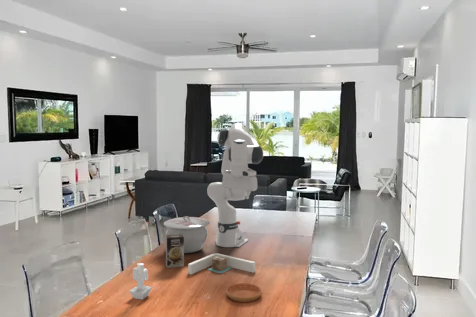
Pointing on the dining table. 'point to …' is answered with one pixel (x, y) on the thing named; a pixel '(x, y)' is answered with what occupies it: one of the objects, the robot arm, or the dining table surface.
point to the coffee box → (174, 250)
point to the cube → (219, 263)
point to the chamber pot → (189, 231)
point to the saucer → (243, 292)
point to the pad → (219, 271)
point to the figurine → (140, 282)
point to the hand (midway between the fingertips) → (239, 197)
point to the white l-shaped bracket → (231, 262)
